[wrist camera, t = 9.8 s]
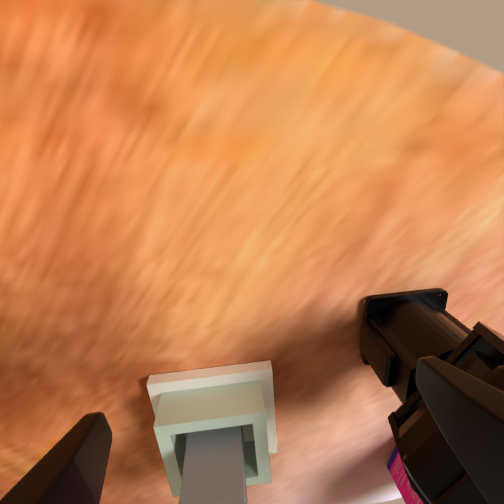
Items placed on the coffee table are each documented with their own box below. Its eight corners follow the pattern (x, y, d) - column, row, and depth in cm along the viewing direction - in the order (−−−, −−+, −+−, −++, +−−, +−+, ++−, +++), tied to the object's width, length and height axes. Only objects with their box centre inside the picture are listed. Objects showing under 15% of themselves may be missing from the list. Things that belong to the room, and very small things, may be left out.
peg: (238, 401, 24) (247, 562, 15) (242, 434, 26) (253, 599, 17) (190, 407, 24) (170, 575, 15) (197, 440, 26) (183, 611, 16)
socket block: (270, 360, 24) (278, 400, 21) (275, 441, 28) (283, 488, 24) (149, 375, 24) (135, 419, 20) (170, 456, 28) (162, 506, 24)
